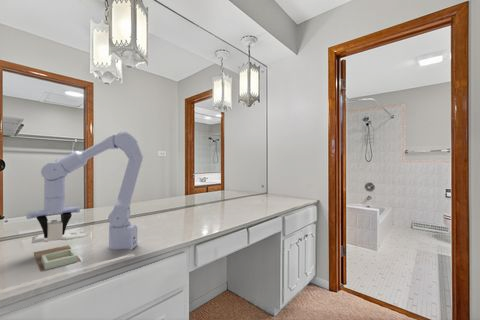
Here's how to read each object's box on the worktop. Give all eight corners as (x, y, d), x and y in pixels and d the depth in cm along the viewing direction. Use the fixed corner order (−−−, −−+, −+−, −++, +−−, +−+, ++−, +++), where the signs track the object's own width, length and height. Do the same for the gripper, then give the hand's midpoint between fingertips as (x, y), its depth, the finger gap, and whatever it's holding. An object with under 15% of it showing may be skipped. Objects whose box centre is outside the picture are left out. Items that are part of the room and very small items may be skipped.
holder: (77, 261, 74) (77, 255, 74) (45, 269, 68) (45, 263, 68) (72, 254, 79) (72, 248, 79) (41, 261, 73) (41, 255, 73)
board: (81, 264, 74) (81, 261, 74) (40, 275, 67) (40, 271, 67) (68, 247, 88) (68, 245, 88) (33, 255, 80) (33, 252, 80)
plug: (62, 238, 81) (62, 220, 81) (47, 241, 78) (48, 222, 78) (60, 236, 84) (60, 218, 84) (45, 238, 81) (46, 220, 81)
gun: (32, 239, 87) (32, 233, 94) (31, 248, 86) (32, 241, 94) (89, 232, 99) (85, 227, 106) (88, 240, 98) (85, 235, 106)
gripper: (76, 193, 89) (76, 229, 89) (25, 198, 79) (25, 237, 79) (81, 195, 84) (80, 232, 84) (27, 200, 74) (27, 243, 74)
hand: (54, 235), depth 81 cm, fingers closed on plug, 4 cm apart
